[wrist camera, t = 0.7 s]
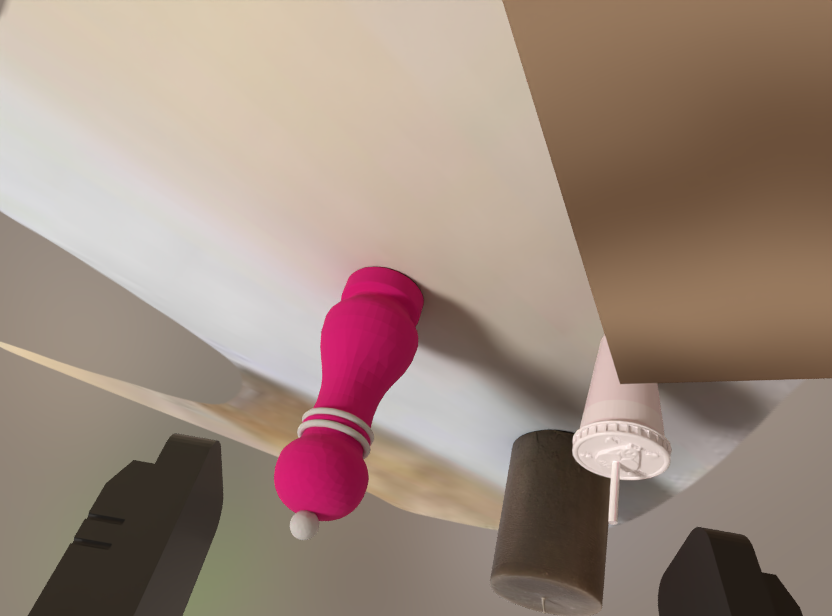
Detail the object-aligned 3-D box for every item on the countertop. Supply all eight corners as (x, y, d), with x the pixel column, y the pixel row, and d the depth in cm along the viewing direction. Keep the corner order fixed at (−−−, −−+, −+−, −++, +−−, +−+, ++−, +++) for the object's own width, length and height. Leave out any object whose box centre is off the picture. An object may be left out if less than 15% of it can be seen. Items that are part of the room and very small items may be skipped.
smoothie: (568, 351, 53) (548, 519, 45) (607, 305, 48) (593, 485, 39) (642, 378, 54) (637, 550, 45) (689, 336, 48) (693, 520, 40)
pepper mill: (391, 333, 57) (315, 568, 45) (324, 285, 54) (222, 521, 42) (449, 301, 52) (380, 556, 40) (378, 247, 49) (280, 503, 37)
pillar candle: (554, 417, 61) (531, 584, 52) (635, 462, 64) (627, 628, 54) (493, 448, 68) (463, 599, 59) (567, 487, 71) (550, 637, 62)
